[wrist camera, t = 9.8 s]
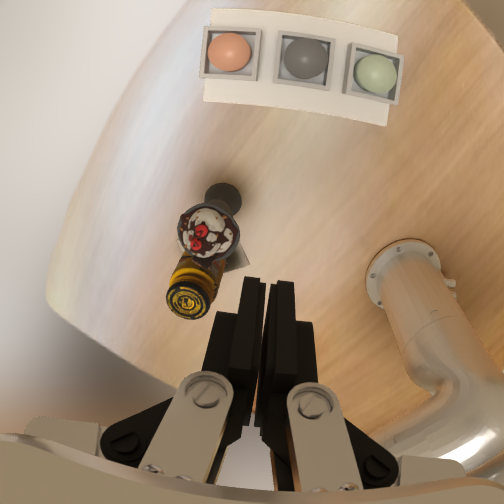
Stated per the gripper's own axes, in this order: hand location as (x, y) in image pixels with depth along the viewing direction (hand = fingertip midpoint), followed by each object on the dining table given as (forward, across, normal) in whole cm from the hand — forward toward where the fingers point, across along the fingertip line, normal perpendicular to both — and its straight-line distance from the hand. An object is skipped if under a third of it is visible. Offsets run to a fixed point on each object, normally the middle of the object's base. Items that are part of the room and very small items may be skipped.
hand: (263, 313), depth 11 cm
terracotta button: (+29, +6, -11) cm, 32 cm away
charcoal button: (+28, -2, -11) cm, 30 cm away
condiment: (+31, +7, +16) cm, 36 cm away
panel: (+31, -2, -11) cm, 33 cm away
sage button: (+29, -10, -11) cm, 33 cm away
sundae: (+31, +6, +8) cm, 33 cm away
